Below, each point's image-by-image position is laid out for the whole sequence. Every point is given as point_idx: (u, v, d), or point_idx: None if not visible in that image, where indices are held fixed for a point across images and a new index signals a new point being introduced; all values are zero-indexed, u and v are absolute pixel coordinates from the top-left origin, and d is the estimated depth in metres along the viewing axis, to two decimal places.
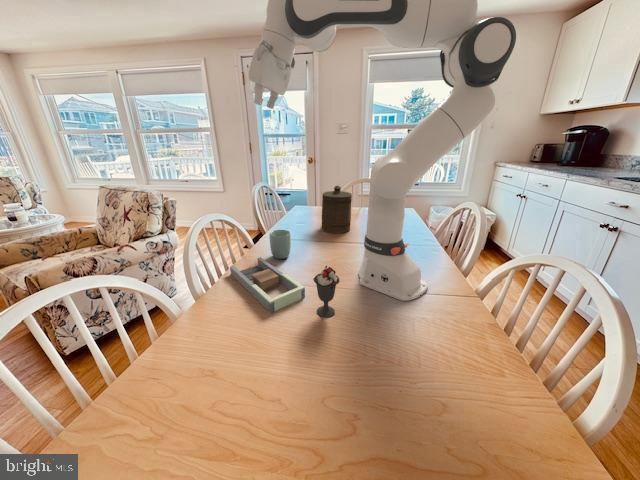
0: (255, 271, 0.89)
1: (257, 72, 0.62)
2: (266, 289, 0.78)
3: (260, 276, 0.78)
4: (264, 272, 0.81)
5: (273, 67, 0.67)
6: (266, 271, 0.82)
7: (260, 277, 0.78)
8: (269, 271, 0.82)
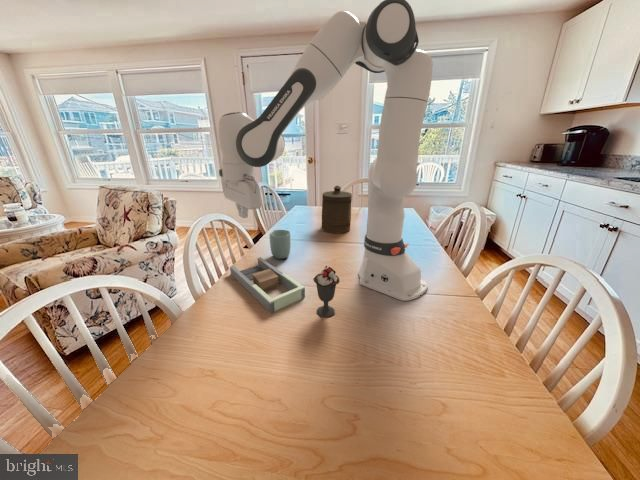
0: (255, 271, 0.89)
1: (257, 201, 0.72)
2: (265, 289, 0.78)
3: (260, 276, 0.78)
4: (264, 272, 0.81)
5: None
6: (266, 271, 0.82)
7: (260, 277, 0.78)
8: (269, 271, 0.82)
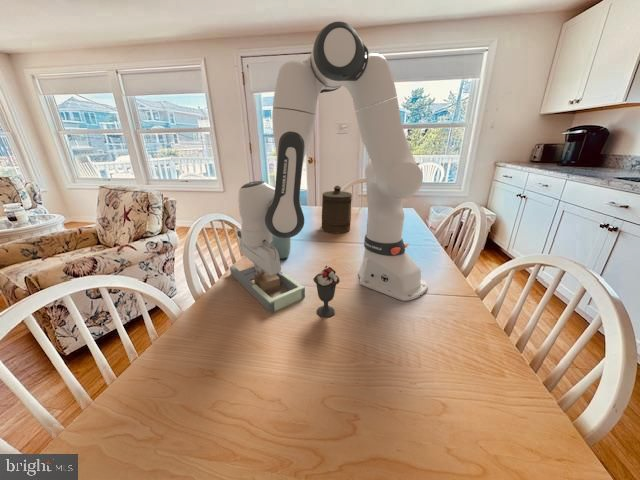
0: (255, 271, 0.89)
1: (277, 268, 0.73)
2: (266, 291, 0.76)
3: (261, 278, 0.77)
4: None
5: None
6: None
7: (261, 278, 0.77)
8: None
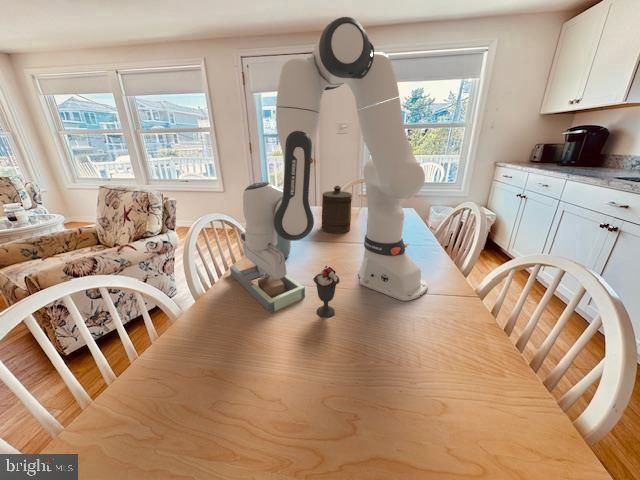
0: (255, 271, 0.89)
1: (283, 272, 0.71)
2: None
3: (265, 283, 0.75)
4: (270, 278, 0.77)
5: None
6: None
7: (265, 284, 0.75)
8: None
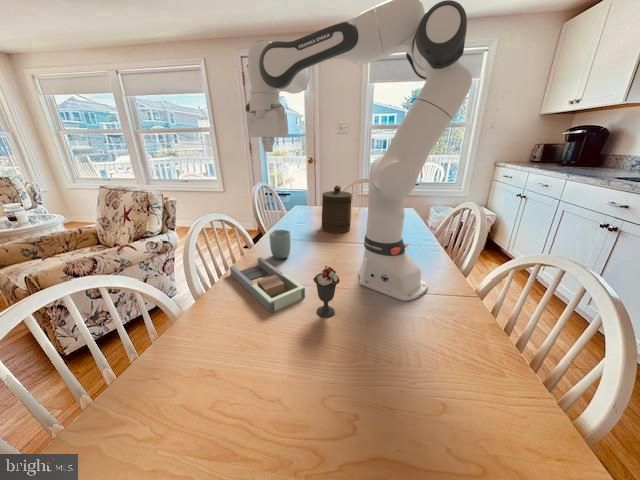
0: (255, 271, 0.89)
1: (285, 129, 0.76)
2: (271, 297, 0.74)
3: (265, 283, 0.75)
4: (270, 278, 0.77)
5: None
6: (272, 277, 0.78)
7: (265, 284, 0.75)
8: (275, 278, 0.78)
